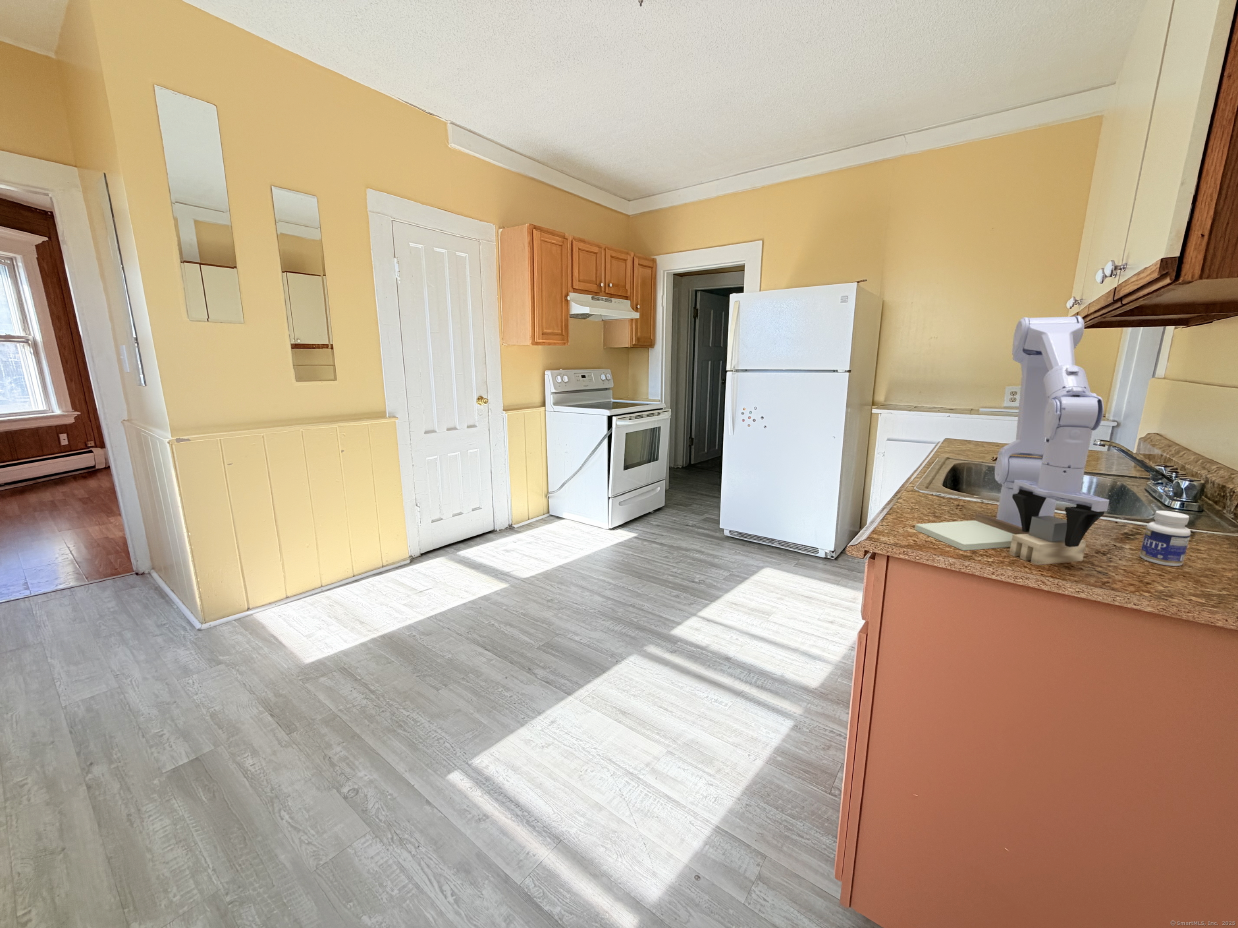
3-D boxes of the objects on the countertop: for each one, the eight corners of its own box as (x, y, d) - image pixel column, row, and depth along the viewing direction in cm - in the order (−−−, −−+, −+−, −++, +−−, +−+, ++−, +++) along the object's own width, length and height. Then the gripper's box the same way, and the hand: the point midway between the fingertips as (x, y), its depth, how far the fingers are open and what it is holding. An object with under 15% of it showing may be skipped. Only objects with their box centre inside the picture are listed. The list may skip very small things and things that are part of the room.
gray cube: (1046, 533, 91) (1050, 515, 90) (1069, 540, 87) (1073, 522, 86) (1028, 534, 90) (1032, 516, 89) (1051, 542, 86) (1054, 523, 86)
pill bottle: (1130, 554, 91) (1141, 509, 89) (1160, 555, 90) (1171, 509, 89) (1161, 566, 85) (1172, 518, 84) (1192, 566, 85) (1204, 518, 83)
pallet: (1053, 551, 93) (1057, 531, 92) (1082, 561, 88) (1086, 540, 87) (1009, 555, 91) (1012, 534, 90) (1036, 565, 86) (1040, 544, 85)
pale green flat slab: (978, 525, 107) (980, 513, 106) (1033, 545, 95) (1035, 531, 95) (914, 529, 104) (916, 517, 104) (963, 550, 93) (965, 536, 92)
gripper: (1004, 458, 92) (993, 526, 95) (1090, 474, 78) (1074, 554, 81) (1035, 457, 93) (1023, 524, 96) (1125, 473, 79) (1108, 552, 82)
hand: (1048, 538), depth 89 cm, fingers open, 7 cm apart
